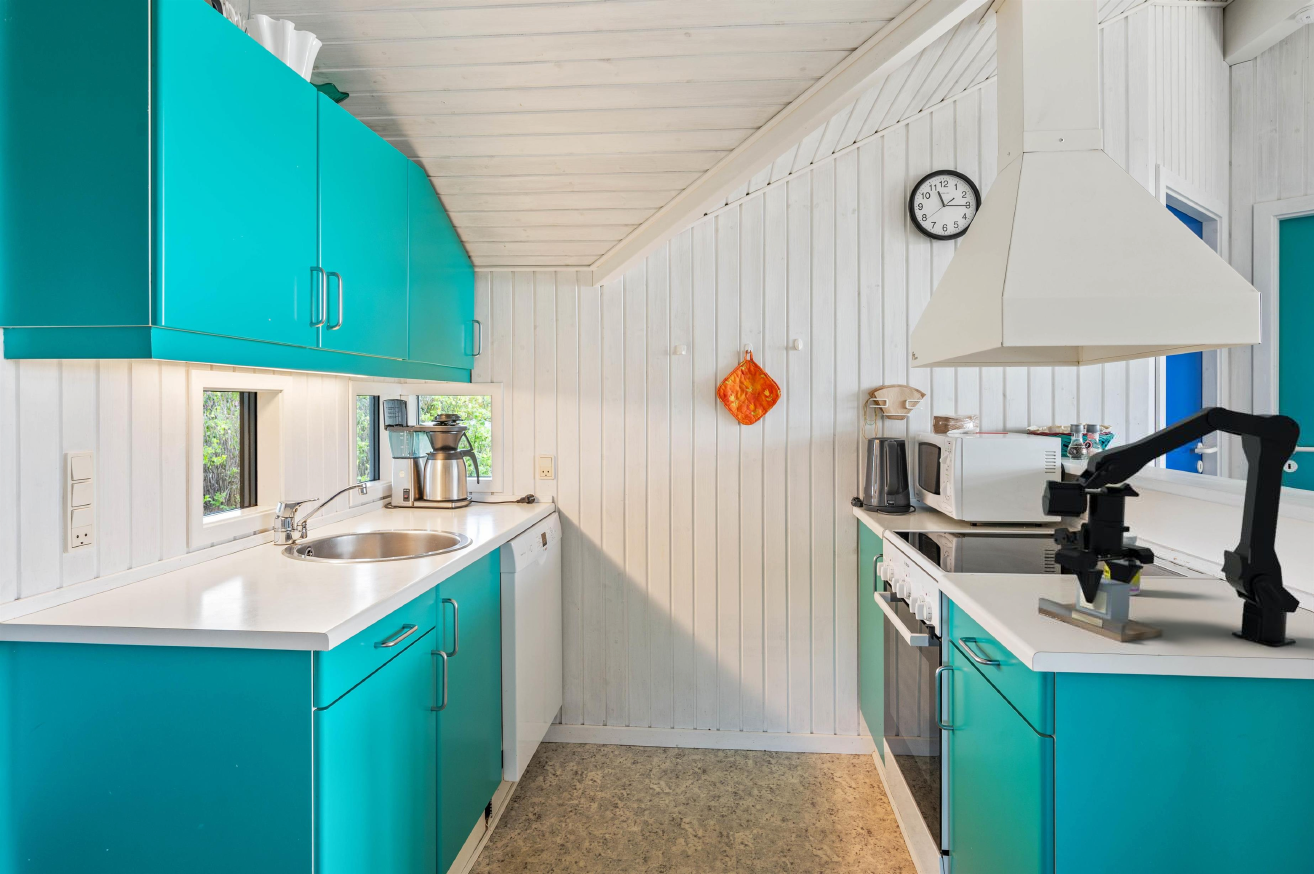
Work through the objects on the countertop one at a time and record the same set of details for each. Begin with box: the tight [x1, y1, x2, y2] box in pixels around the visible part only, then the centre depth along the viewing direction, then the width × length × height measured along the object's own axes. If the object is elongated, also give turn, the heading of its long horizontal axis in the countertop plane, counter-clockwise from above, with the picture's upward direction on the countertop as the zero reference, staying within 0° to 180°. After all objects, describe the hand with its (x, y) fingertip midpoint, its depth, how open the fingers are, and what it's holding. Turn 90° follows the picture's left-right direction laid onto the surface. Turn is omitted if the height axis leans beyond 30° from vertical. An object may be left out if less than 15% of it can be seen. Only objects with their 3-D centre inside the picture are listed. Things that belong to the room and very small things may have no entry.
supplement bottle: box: [1103, 532, 1142, 596], centre depth 152 cm, size 7×7×13 cm
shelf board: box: [1037, 597, 1163, 643], centre depth 129 cm, size 10×17×3 cm, turn 19°
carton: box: [1075, 576, 1131, 623], centre depth 130 cm, size 5×7×7 cm
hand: (1102, 601), depth 130 cm, fingers open, 6 cm apart
